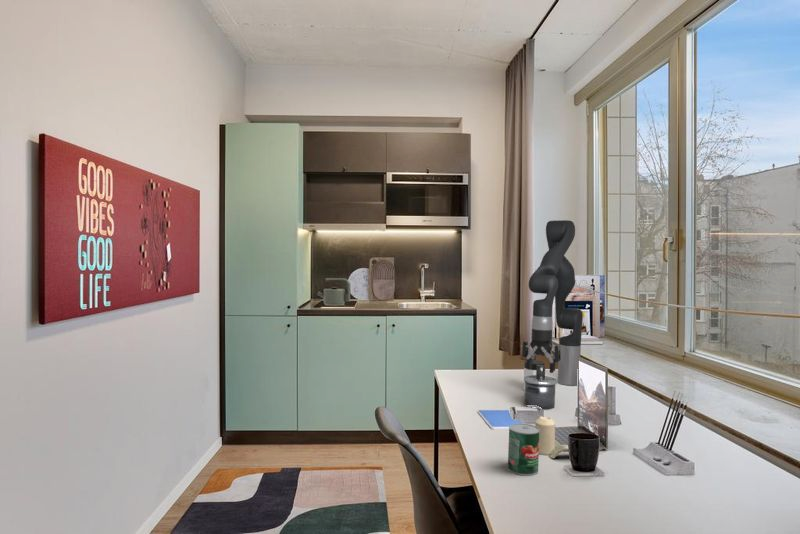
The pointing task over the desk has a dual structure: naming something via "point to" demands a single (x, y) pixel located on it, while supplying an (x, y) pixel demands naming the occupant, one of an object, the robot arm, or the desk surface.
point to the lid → (540, 377)
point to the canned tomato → (523, 449)
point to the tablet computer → (498, 418)
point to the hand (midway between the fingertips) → (540, 370)
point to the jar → (531, 371)
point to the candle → (546, 435)
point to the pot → (540, 395)
